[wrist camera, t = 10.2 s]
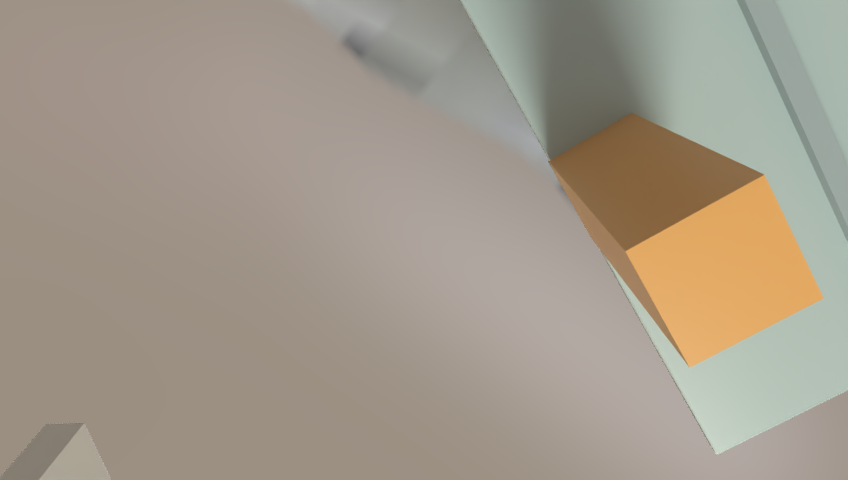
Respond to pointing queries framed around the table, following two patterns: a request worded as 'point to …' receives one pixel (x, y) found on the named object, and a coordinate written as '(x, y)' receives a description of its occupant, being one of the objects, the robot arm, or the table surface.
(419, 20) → the table surface
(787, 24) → the lid
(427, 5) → the table surface
